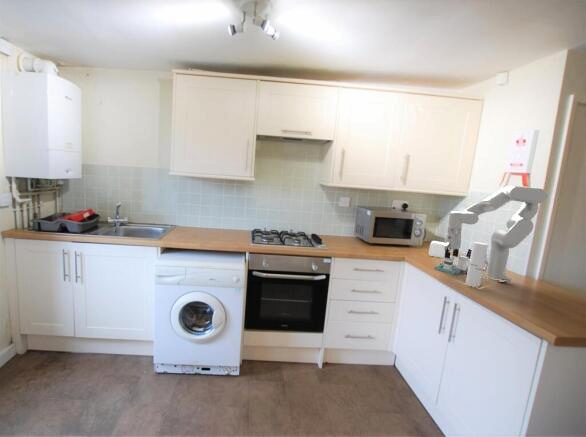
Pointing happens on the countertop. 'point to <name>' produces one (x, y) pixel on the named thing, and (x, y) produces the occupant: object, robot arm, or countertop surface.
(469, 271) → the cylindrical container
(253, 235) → the countertop surface
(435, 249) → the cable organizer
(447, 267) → the fuse
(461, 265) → the fuse
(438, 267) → the parts tray
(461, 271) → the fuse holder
